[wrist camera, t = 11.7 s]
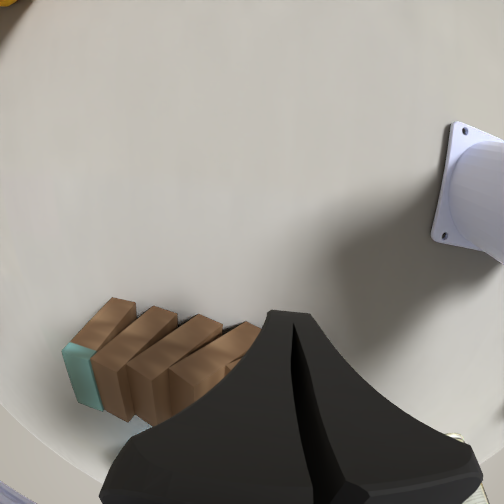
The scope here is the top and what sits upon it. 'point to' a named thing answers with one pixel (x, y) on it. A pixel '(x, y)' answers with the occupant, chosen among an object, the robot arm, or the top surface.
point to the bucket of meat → (7, 2)
